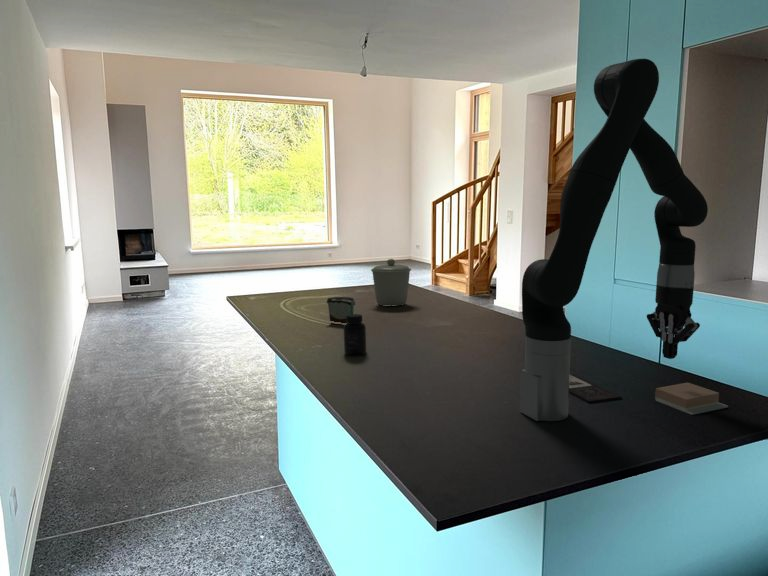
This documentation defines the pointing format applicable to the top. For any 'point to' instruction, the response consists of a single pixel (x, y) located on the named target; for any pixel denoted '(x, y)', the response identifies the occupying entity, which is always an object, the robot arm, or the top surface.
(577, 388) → the chocolate bar
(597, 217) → the robot arm
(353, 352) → the supplement bottle
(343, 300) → the food container
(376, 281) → the canister
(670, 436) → the top surface
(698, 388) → the tile
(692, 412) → the mat
